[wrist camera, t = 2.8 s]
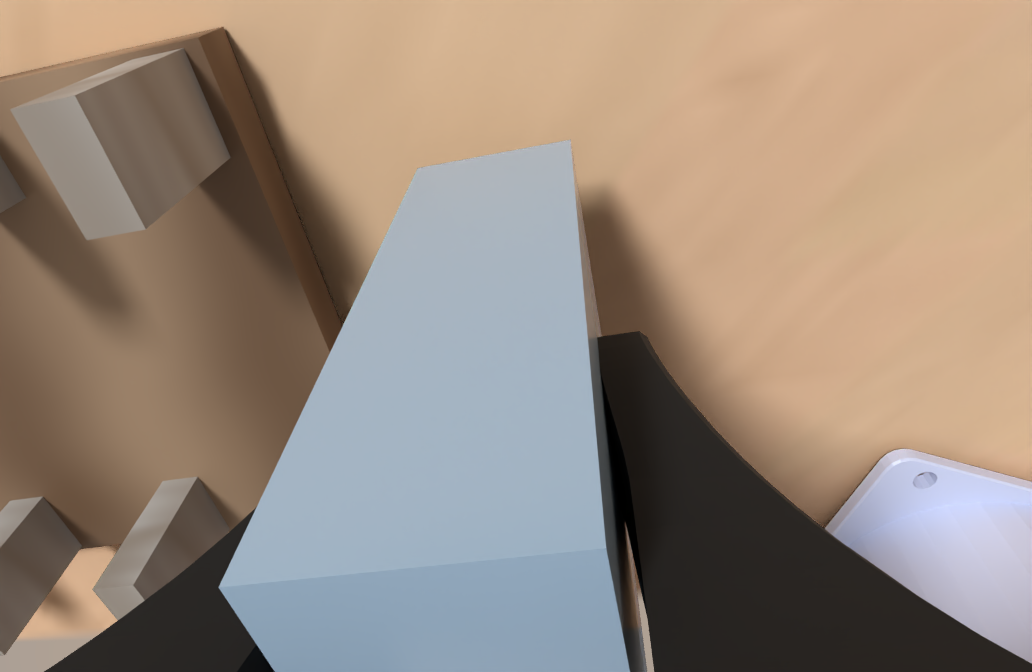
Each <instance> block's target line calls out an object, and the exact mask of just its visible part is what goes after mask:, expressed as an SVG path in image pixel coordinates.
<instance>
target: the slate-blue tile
mask: <svg viewBox="0 0 1032 672" xmlns="http://www.w3.org/2000/svg"><path fill="white" fill-rule="evenodd" d="M598 337H602V335H601V328H600V322H599V316H598V310H597V303H596V297H595V291H594V284H593V278H592V272H591V266H590V259H589V253H588V247H587V241H586V234H585V228H584V222H583V215H582V209H581V203H580V197H579V190H578V184H577V178H576V171H575V165H574V159H573V153H572V146H571V140H567V141H561V142H556V143H551V144H545V145H540V146H534V147H529V148H524V149H518V150H513V151H508V152H502V153H497V154H491V155H486V156H481V157H475V158H470V159H465V160H459V161H454V162H449V163H443V164H438V165H432V166H427V167H422V168H418V169H417V171H416V173H415V175H414V177H413V179H412V181H411V183H410V185H409V188H408V190H407V192H406V194H405V196H404V198H403V200H402V202H401V204H400V207H399V209H398V211H397V213H396V215H395V217H394V219H393V221H392V223H391V225H390V228H389V230H388V232H387V234H386V236H385V238H384V240H383V242H382V244H381V247H380V249H379V251H378V253H377V255H376V257H375V259H374V261H373V263H372V265H371V268H370V270H369V272H368V274H367V276H366V278H365V280H364V282H363V284H362V287H361V289H360V291H359V293H358V295H357V297H356V299H355V301H354V303H353V305H352V308H351V310H350V312H349V314H348V316H347V318H346V320H345V322H344V324H343V327H342V329H341V331H340V333H339V335H338V337H337V339H336V341H335V343H334V345H333V348H332V350H331V352H330V354H329V356H328V358H327V360H326V362H325V364H324V367H323V369H322V371H321V373H320V375H319V377H318V379H317V381H316V383H315V385H314V388H313V390H312V392H311V394H310V396H309V398H308V400H307V402H306V404H305V407H304V409H303V411H302V413H301V415H300V417H299V419H298V421H297V423H296V425H295V428H294V430H293V432H292V434H291V436H290V438H289V440H288V442H287V444H286V447H285V449H284V451H283V453H282V455H281V457H280V459H279V461H278V463H277V466H276V468H275V470H274V472H273V474H272V476H271V478H270V480H269V482H268V484H267V487H266V489H265V491H264V493H263V495H262V497H261V499H260V501H259V503H258V506H257V508H256V510H255V512H254V514H253V516H252V518H251V520H250V522H249V524H248V527H247V529H246V531H245V533H244V535H243V537H242V539H241V541H240V543H239V546H238V548H237V550H236V552H235V554H234V556H233V558H232V560H231V562H230V564H229V567H228V569H227V571H226V573H225V575H224V577H223V579H222V581H221V583H220V586H219V589H220V590H221V592H222V593H223V595H224V596H225V598H226V599H227V601H228V602H229V604H230V605H231V607H232V608H233V610H234V611H235V613H236V614H237V616H238V617H239V619H240V620H241V622H242V623H243V625H244V626H245V628H246V629H247V631H248V632H249V634H250V635H251V637H252V638H253V640H254V641H255V643H256V644H257V646H258V647H259V649H260V650H261V652H262V653H263V655H264V656H265V658H266V659H267V661H268V662H269V664H270V665H271V667H272V668H273V670H274V671H275V672H647V667H646V659H645V651H644V644H643V636H642V628H641V620H640V612H639V604H638V596H637V588H636V580H635V572H634V564H633V556H632V549H631V545H630V540H629V536H628V531H627V527H626V523H625V517H624V511H623V505H622V499H621V493H620V487H619V481H618V475H617V469H616V463H615V457H614V451H613V445H612V439H611V433H610V427H609V421H608V415H607V409H606V403H605V397H604V391H603V385H602V379H601V373H600V362H599V350H598Z"/></svg>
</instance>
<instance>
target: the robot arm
mask: <svg viewBox="0 0 1032 672" xmlns="http://www.w3.org/2000/svg"><path fill="white" fill-rule="evenodd" d="M598 350H599V362H600V373H601V379H602V385H603V391H604V397H605V403H606V409H607V415H608V421H609V427H610V433H611V439H612V445H613V451H614V457H615V463H616V469H617V475H618V481H619V487H620V493H621V499H622V505H623V511H624V517H625V523H626V527H627V531H628V536H629V540H630V545H631V549H632V553H633V558H634V562H635V566H636V570H637V575H638V579H639V583H640V588H641V592H642V596H643V601H644V605H645V609H646V614H647V618H648V625H649V632H650V641H651V648H652V656H653V664H654V672H1032V482H1031V481H1027V480H1023V479H1019V478H1016V477H1012V476H1008V475H1005V474H1001V473H997V472H993V471H990V470H986V469H982V468H979V467H975V466H971V465H967V464H964V463H960V462H956V461H953V460H949V459H945V458H941V457H938V456H934V455H930V454H927V453H923V452H919V451H915V450H911V449H899V450H894V451H892V452H889V453H887V454H886V455H885V456H884V457H882V458H881V459H880V460H879V462H878V463H877V464H876V465H875V467H874V468H873V469H872V470H871V472H870V473H869V474H868V475H867V477H866V478H865V479H864V480H863V482H862V483H861V484H860V485H859V486H858V488H857V489H856V490H855V491H854V493H853V494H852V495H851V496H850V498H849V499H848V500H847V501H846V503H845V504H844V505H843V506H842V508H841V509H840V510H839V511H838V513H837V514H836V515H835V516H834V517H833V519H832V520H831V521H830V522H829V524H828V525H827V526H826V527H825V529H824V528H823V527H821V526H820V525H819V524H818V523H816V522H815V521H814V520H813V519H811V518H810V517H809V516H808V515H806V514H805V513H804V512H803V511H801V510H800V509H799V508H798V507H797V506H795V505H794V504H793V503H792V502H791V501H790V500H788V499H787V498H786V497H785V496H784V495H783V494H781V493H780V492H779V491H778V490H777V489H776V488H774V487H773V486H772V485H771V484H770V483H769V482H768V481H767V480H766V479H764V478H763V477H762V476H761V475H760V474H759V473H758V472H757V471H756V470H755V469H754V468H753V467H752V466H751V465H750V464H748V463H747V462H746V461H745V460H744V459H743V458H742V457H741V456H740V455H739V454H738V453H737V452H736V451H735V450H734V449H733V447H732V446H731V445H730V444H729V443H728V442H727V441H726V440H725V439H724V438H723V437H722V436H721V435H720V434H719V433H718V432H717V431H716V430H715V429H714V428H713V426H712V425H711V424H710V423H709V422H708V421H707V420H706V419H705V417H704V416H703V415H702V414H701V413H700V412H699V410H698V409H697V408H696V407H695V406H694V404H693V403H692V402H691V401H690V400H689V399H688V397H687V396H686V395H685V394H684V392H683V391H682V390H681V389H680V387H679V386H678V385H677V384H676V382H675V381H674V379H673V378H672V377H671V375H670V374H669V373H668V371H667V370H666V368H665V367H664V365H663V364H662V362H661V361H660V359H659V358H658V356H657V355H656V353H655V351H654V350H653V348H652V346H651V344H650V342H649V340H648V338H647V337H646V336H645V335H643V334H642V333H641V332H639V331H637V332H630V333H624V334H617V335H610V336H603V337H598ZM924 472H925V473H924ZM921 473H924V474H922V475H919V474H921ZM918 475H919V476H918ZM256 508H257V507H256ZM256 508H255V509H254V510H253V511H252V512H250V513H249V514H248V515H247V516H246V517H245V518H244V519H243V520H242V521H241V522H240V523H239V524H237V525H236V526H235V527H234V528H233V529H232V530H231V531H230V532H229V533H228V534H226V535H225V536H224V537H223V538H222V539H221V540H219V541H218V542H217V543H216V544H215V545H214V546H212V547H211V548H210V549H209V550H208V551H207V552H205V553H204V554H203V555H202V556H201V557H199V558H198V559H197V560H196V561H195V562H194V563H192V564H191V565H190V566H189V567H188V568H186V569H185V570H184V571H183V572H181V573H180V574H179V575H178V576H176V577H175V578H174V579H173V580H171V581H170V582H169V583H167V584H166V585H165V586H163V587H162V588H161V589H159V590H158V591H157V592H155V593H154V594H153V595H151V596H150V597H149V598H147V599H146V600H145V601H143V602H142V603H141V604H139V605H138V606H137V607H135V608H134V609H133V610H131V611H130V612H129V613H127V614H126V615H125V616H123V617H122V618H121V619H119V620H118V621H117V622H115V623H114V624H113V625H111V626H110V627H109V628H107V629H106V630H105V631H103V632H102V633H100V634H99V635H98V636H96V637H95V638H93V639H92V640H90V641H89V642H88V643H86V644H85V645H83V646H82V647H80V648H79V649H77V650H76V651H74V652H73V653H71V654H70V655H68V656H67V657H66V658H64V659H63V660H61V661H60V662H58V663H57V664H55V665H54V666H52V667H51V668H49V669H48V670H46V671H44V672H275V671H274V670H273V668H272V667H271V665H270V664H269V662H268V661H267V659H266V658H265V656H264V655H263V653H262V652H261V650H260V649H259V647H258V646H257V644H256V643H255V641H254V640H253V638H252V637H251V635H250V634H249V632H248V631H247V629H246V628H245V626H244V625H243V623H242V622H241V620H240V619H239V617H238V616H237V614H236V613H235V611H234V610H233V608H232V607H231V605H230V604H229V602H228V601H227V599H226V598H225V596H224V595H223V593H222V592H221V590H220V589H219V586H220V583H221V581H222V579H223V577H224V575H225V573H226V571H227V569H228V567H229V564H230V562H231V560H232V558H233V556H234V554H235V552H236V550H237V548H238V546H239V543H240V541H241V539H242V537H243V535H244V533H245V531H246V529H247V527H248V524H249V522H250V520H251V518H252V516H253V514H254V512H255V510H256Z"/></svg>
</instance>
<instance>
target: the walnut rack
mask: <svg viewBox="0 0 1032 672" xmlns="http://www.w3.org/2000/svg"><path fill="white" fill-rule="evenodd" d="M341 329H342V325H341V322H340V320H339V317H338V315H337V312H336V310H335V307H334V305H333V302H332V300H331V297H330V295H329V292H328V290H327V287H326V285H325V282H324V280H323V277H322V275H321V272H320V270H319V267H318V265H317V262H316V259H315V257H314V254H313V252H312V249H311V247H310V244H309V242H308V239H307V237H306V234H305V232H304V229H303V227H302V224H301V222H300V219H299V217H298V214H297V212H296V209H295V207H294V204H293V202H292V199H291V196H290V194H289V191H288V189H287V186H286V184H285V181H284V179H283V176H282V174H281V171H280V169H279V166H278V164H277V161H276V159H275V156H274V154H273V151H272V149H271V146H270V144H269V141H268V139H267V136H266V133H265V131H264V128H263V126H262V123H261V121H260V118H259V116H258V113H257V111H256V108H255V106H254V103H253V101H252V98H251V96H250V93H249V91H248V88H247V86H246V83H245V81H244V78H243V76H242V73H241V70H240V68H239V65H238V63H237V60H236V58H235V55H234V53H233V50H232V48H231V45H230V43H229V40H228V38H227V35H226V33H225V30H224V28H223V27H221V28H216V29H212V30H207V31H203V32H199V33H194V34H190V35H185V36H181V37H176V38H172V39H168V40H163V41H159V42H154V43H150V44H145V45H141V46H137V47H132V48H128V49H123V50H119V51H114V52H110V53H106V54H101V55H97V56H92V57H88V58H83V59H79V60H75V61H70V62H66V63H61V64H57V65H52V66H48V67H44V68H39V69H35V70H30V71H26V72H21V73H17V74H13V75H8V76H4V77H0V656H2V655H5V654H6V653H7V651H8V650H9V649H10V647H11V646H12V644H13V643H14V642H15V640H16V639H17V637H18V636H19V634H20V633H21V632H22V630H23V629H24V627H25V626H26V625H27V623H28V622H29V620H30V619H31V617H32V616H33V615H34V613H35V612H36V610H37V609H38V608H39V606H40V605H41V603H42V602H43V601H44V599H45V598H46V596H47V595H48V593H49V592H50V591H51V589H52V588H53V586H54V585H55V584H56V582H57V581H58V579H59V578H60V577H61V575H62V574H63V572H64V571H65V569H66V568H67V567H68V565H69V564H70V562H71V561H72V560H73V558H74V557H75V555H76V554H77V553H78V551H79V550H80V549H84V548H93V547H102V546H110V545H119V544H122V545H121V546H120V548H119V549H118V551H117V552H116V554H115V555H114V557H113V558H112V560H111V562H110V563H109V565H108V566H107V568H106V569H105V571H104V572H103V574H102V575H101V577H100V579H99V580H98V582H97V583H96V585H95V586H94V588H93V589H92V590H93V591H94V592H95V593H96V595H97V596H98V597H99V598H100V599H101V601H102V602H103V603H104V604H105V605H106V607H107V608H108V609H109V610H110V612H111V613H112V614H113V615H114V616H115V618H116V619H117V620H119V619H121V618H122V617H123V616H125V615H126V614H127V613H129V612H130V611H131V610H133V609H134V608H135V607H137V606H138V605H139V604H141V603H142V602H143V601H145V600H146V599H147V598H149V597H150V596H151V595H153V594H154V593H155V592H157V591H158V590H159V589H161V588H162V587H163V586H165V585H166V584H167V583H169V582H170V581H171V580H173V579H174V578H175V577H176V576H178V575H179V574H180V573H181V572H183V571H184V570H185V569H186V568H188V567H189V566H190V565H191V564H192V563H194V562H195V561H196V560H197V559H198V558H199V557H201V556H202V555H203V554H204V553H205V552H207V551H208V550H209V549H210V548H211V547H212V546H214V545H215V544H216V543H217V542H218V541H219V540H221V539H222V538H223V537H224V536H225V535H226V534H227V533H228V532H230V531H231V530H232V529H233V528H234V527H235V526H236V525H237V524H239V523H240V522H241V521H242V520H243V519H244V518H245V517H246V516H247V515H248V514H249V513H250V512H252V511H253V510H254V509H255V508H256V507H257V506H258V503H259V501H260V499H261V497H262V495H263V493H264V491H265V489H266V487H267V484H268V482H269V480H270V478H271V476H272V474H273V472H274V470H275V468H276V466H277V463H278V461H279V459H280V457H281V455H282V453H283V451H284V449H285V447H286V444H287V442H288V440H289V438H290V436H291V434H292V432H293V430H294V428H295V425H296V423H297V421H298V419H299V417H300V415H301V413H302V411H303V409H304V407H305V404H306V402H307V400H308V398H309V396H310V394H311V392H312V390H313V388H314V385H315V383H316V381H317V379H318V377H319V375H320V373H321V371H322V369H323V367H324V364H325V362H326V360H327V358H328V356H329V354H330V352H331V350H332V348H333V345H334V343H335V341H336V339H337V337H338V335H339V333H340V331H341Z"/></svg>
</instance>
